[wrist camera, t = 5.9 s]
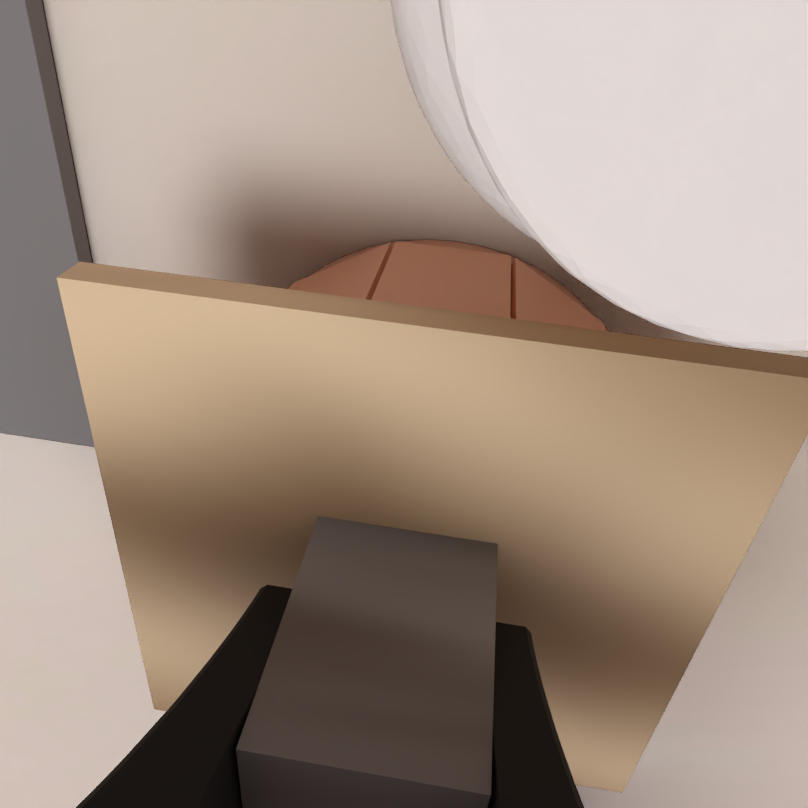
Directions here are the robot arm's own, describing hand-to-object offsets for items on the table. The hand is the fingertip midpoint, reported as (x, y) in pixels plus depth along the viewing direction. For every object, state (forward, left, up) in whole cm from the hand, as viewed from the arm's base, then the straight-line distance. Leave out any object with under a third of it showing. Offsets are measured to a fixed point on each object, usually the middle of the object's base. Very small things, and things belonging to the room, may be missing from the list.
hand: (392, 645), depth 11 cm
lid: (0, 0, -2) cm, 2 cm away
